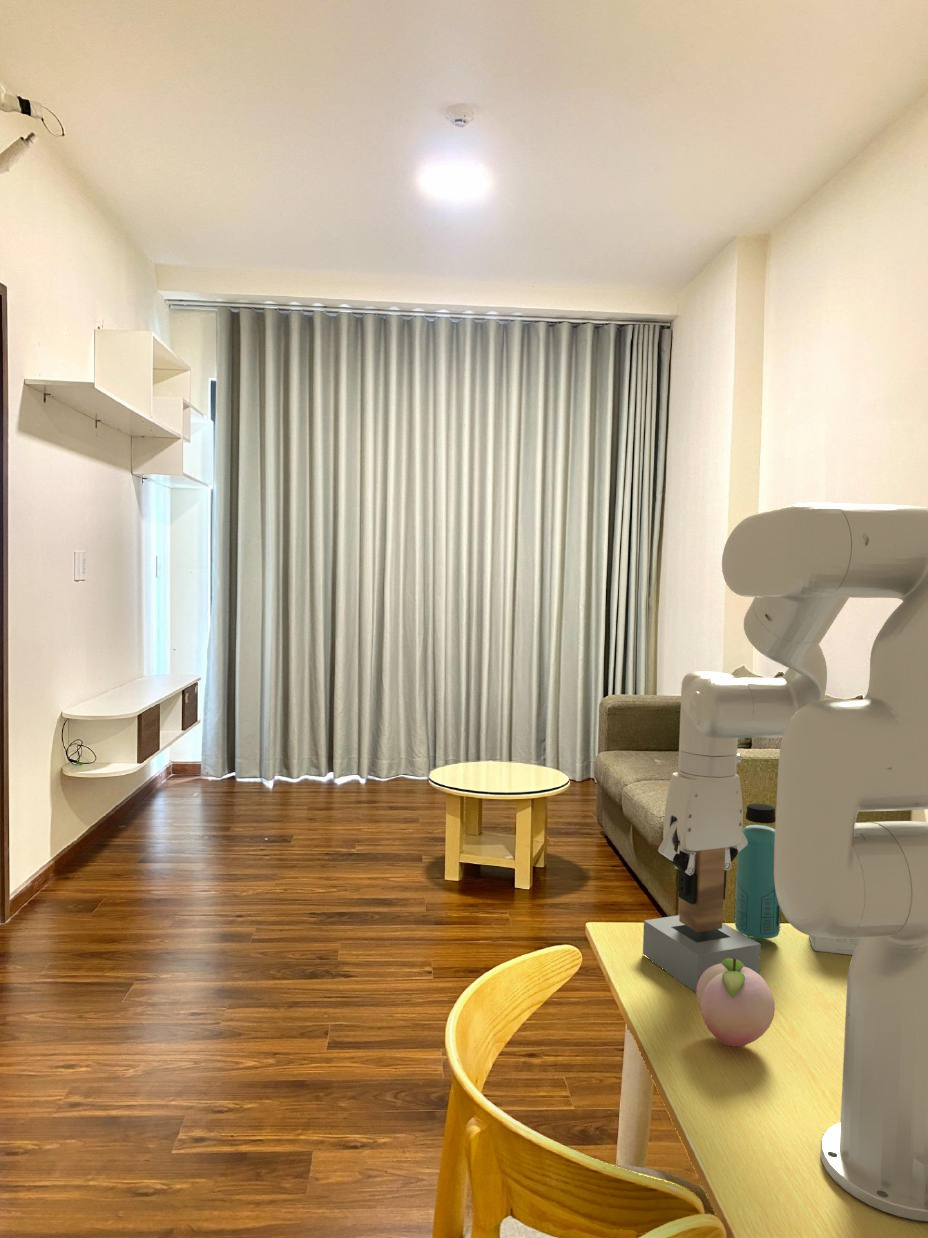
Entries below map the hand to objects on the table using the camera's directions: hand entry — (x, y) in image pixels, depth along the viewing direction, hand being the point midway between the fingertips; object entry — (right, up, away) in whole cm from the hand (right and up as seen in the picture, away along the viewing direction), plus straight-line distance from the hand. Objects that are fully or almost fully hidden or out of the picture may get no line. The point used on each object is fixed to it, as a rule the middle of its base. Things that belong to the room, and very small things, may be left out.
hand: (701, 897), depth 122 cm
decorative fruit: (-2, -11, -20) cm, 23 cm away
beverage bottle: (+11, -10, +10) cm, 18 cm away
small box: (+22, -10, +9) cm, 26 cm away
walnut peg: (0, -4, 0) cm, 4 cm away
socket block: (0, -10, 0) cm, 10 cm away
